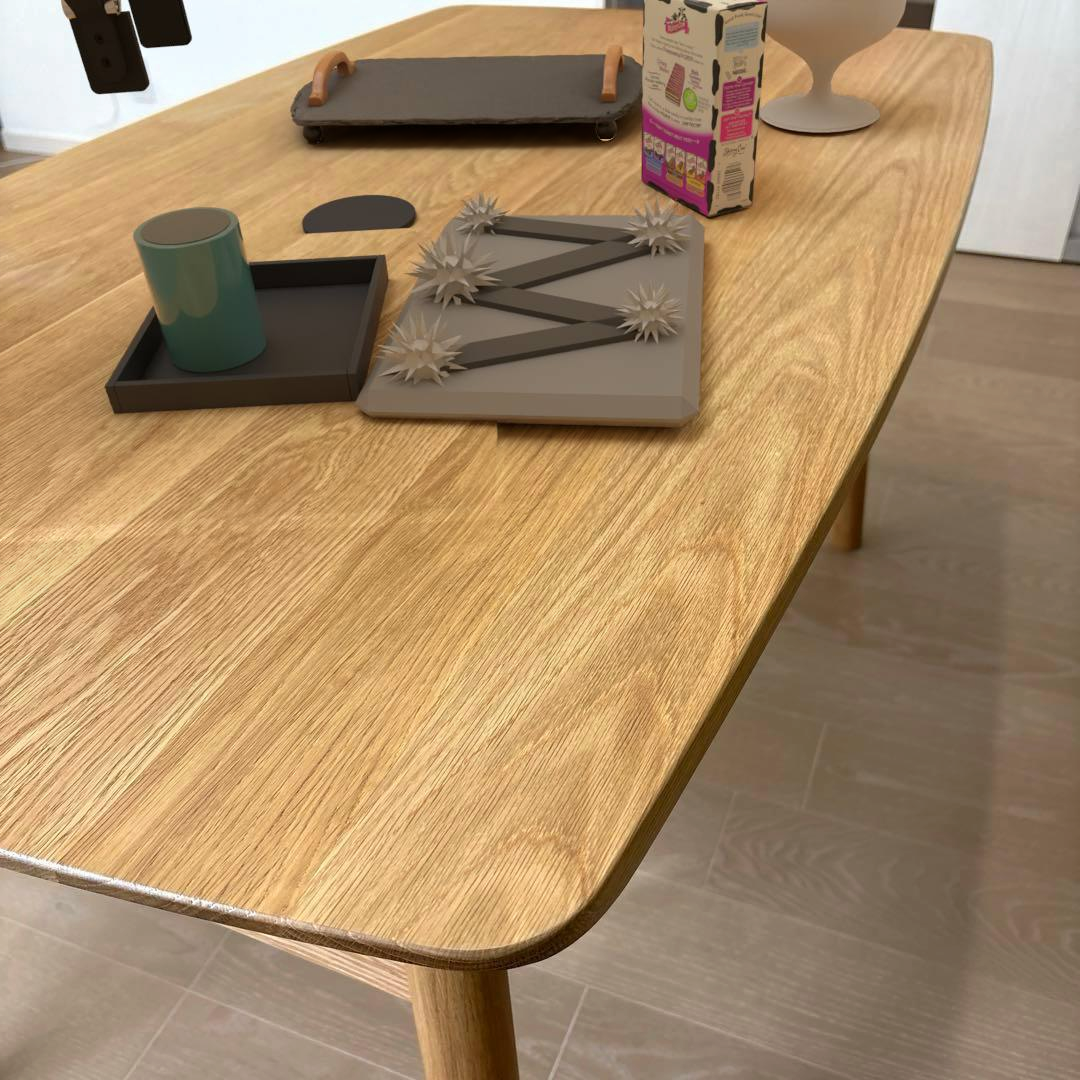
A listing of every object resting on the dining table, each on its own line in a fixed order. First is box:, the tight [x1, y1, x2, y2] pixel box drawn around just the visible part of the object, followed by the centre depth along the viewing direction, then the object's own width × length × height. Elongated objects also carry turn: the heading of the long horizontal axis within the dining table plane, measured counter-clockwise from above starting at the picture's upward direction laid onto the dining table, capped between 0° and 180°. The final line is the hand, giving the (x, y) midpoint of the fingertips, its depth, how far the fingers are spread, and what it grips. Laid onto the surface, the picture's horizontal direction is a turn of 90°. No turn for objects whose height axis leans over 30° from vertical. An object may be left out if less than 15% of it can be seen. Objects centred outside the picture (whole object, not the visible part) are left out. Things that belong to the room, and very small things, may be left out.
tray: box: [104, 254, 389, 415], centre depth 76 cm, size 16×18×3 cm
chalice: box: [759, 0, 907, 133], centre depth 105 cm, size 14×14×15 cm
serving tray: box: [290, 44, 643, 145], centre depth 115 cm, size 39×23×6 cm, turn 82°
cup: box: [132, 206, 267, 372], centre depth 73 cm, size 7×7×9 cm
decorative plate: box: [354, 190, 706, 428], centre depth 75 cm, size 30×22×7 cm
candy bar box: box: [640, 0, 768, 218], centre depth 90 cm, size 11×5×16 cm, turn 28°
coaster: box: [301, 194, 417, 235], centre depth 95 cm, size 10×10×1 cm
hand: (146, 67), depth 64 cm, fingers open, 9 cm apart
